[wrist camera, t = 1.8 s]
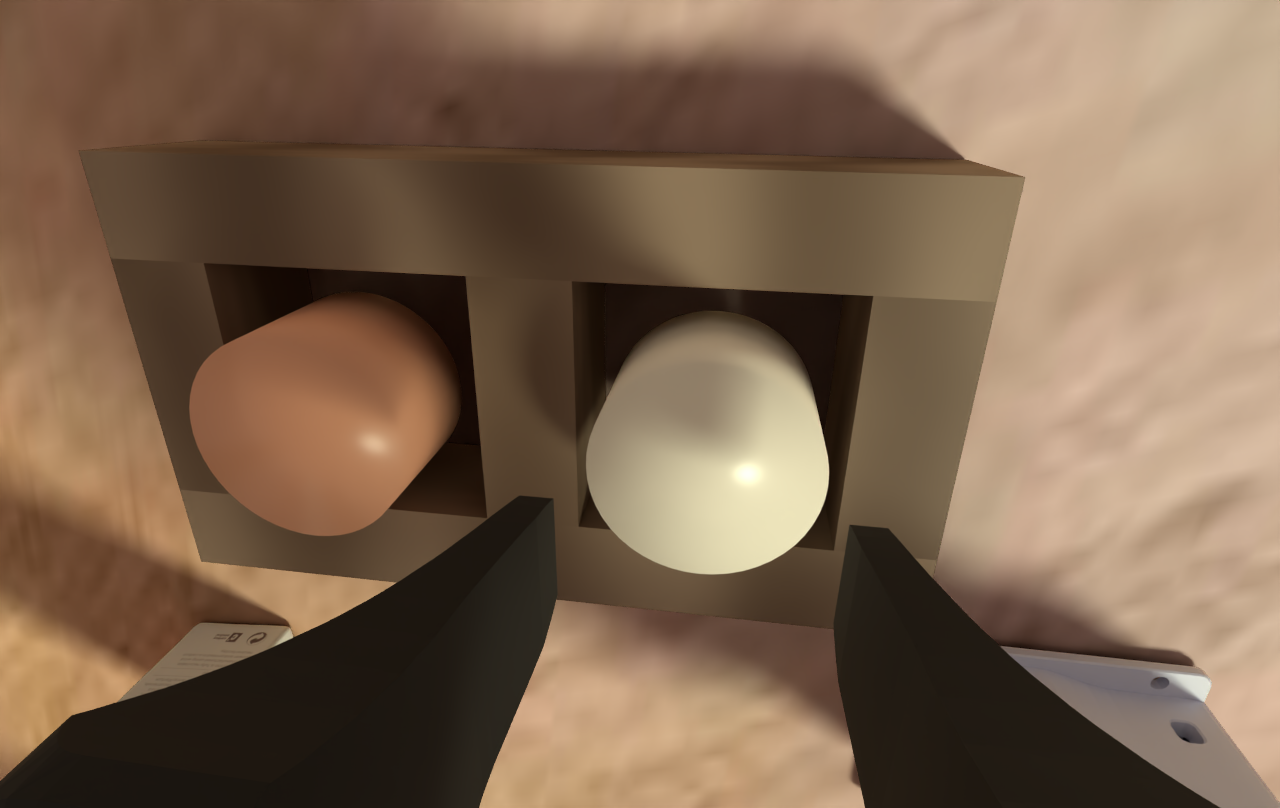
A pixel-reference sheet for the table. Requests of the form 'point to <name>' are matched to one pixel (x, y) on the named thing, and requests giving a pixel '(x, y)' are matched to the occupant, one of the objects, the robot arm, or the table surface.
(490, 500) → the brown compartment tray
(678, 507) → the cream oval piece
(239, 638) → the skincare box
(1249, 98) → the table surface
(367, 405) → the brown egg
